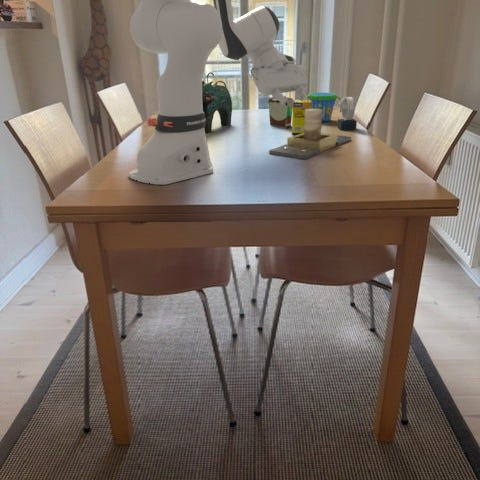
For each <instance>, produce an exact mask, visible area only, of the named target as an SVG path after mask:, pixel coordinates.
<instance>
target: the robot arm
mask: <svg viewBox="0 0 480 480" xmlns="http://www.w3.org/2000/svg"><path fill="white" fill-rule="evenodd" d="M233 13H234V12H233V5H232V0H213V5H212V4H210V3H206V2H203V1H198V0H141V1H140V2H139V4H138V7H137V8H136V10H135V11H134V12H133V13H132V15H131V18H130V21H129V33H130V36H131V39H132V40H133V42H134V44H135V45H136V46H137V47H138V48H140V49H141V50H144V51H147V52H149V53H153V54H159V55H161V54H163V55H164V54H167V62H166V66H165V69H164V71H163V73H162V74H161V75H160V76H159V77H158V79H157V80H156V95H157V104H158V105H157V106H158V114H157V117H156V118H154V117H153V118H152V117H148V118H147V120H146V122H145V123H146V125H147V126H149V127H153V128H154V129H155V130H154V132H153V133H152V134H151V136H150V137H149V138H148V140H147V141H146V142H145V143H144V144H143V145H142V147H140V149H139V150H138V152H137V158H136V166H137V167H136V169H133V170H131V171H129V172H128V177H129V179H131V180H133V179H134V180H133V181H136V180H137V181H136V182H140V183H144V184H149V183H150V184H149V185H169V184H174V183H178V182H181V181H185V180H189V179H193V178H197V177H200V176H206V175H209V174H212V173H214V167H213V164H212V161H211V156H210V151H209V145H208V139H207V136H206V133H205V130H204V127H205V126H206V124H205V121H206V119H205V113H204V112H203V103H202V81H203V77H204V71H205V68H206V65H207V62H208V59H209V57H210V56H211V54H212V52H213V50H214V49H216V47H217V46H218V47H219V49H220V52H221V53H222V54H223V56H224V57H225V58H227V59H230V60H234V61H239V60H241V59H242V58H244V57H246V58H247V59H248V60H250V61H251V63H252V66H253V67H252V68H251V69H250V75H251V76H252V79H253V82H254V84H255V86H256V88H257V90H258V91H259V93H260V94H261V95H263V96H264V97H265V96H272V97H274V98H276V99H277V100H279V101H280V103H281V104H282V105H284V104H286V103H287V102H288V99H287V97H288V96H286V95H285V96H284V95H283V93H291V92H296V93H297V94H298V100H300V101H305V100H308V97H307V96H308V95H306V93H305V87H307V85H308V78H307V76H306V75H305V73H304V72H303V70H302V69H301V67H300V66H299V65H298V64H296V59H295V58H294V57H293V56H291V55H288V54H285V53H283V52H281V51H279V50H278V48H276V46H275V45H274V42H275V41H276V39H277V37H278V34H279V30H280V22H279V21H280V20H279V19H278V17H277V14H276V13H275V12H274V10H272V9H271V8H270V7H267V6H265V5H261V6H259V7H257V8H255V9H253V10H251V11H249V12H247V13H245V14H244V15H242V16H240V17H238V18H236V19H234V14H233Z"/></svg>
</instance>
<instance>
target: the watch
mask: <svg viewBox="0 0 480 480" xmlns="http://www.w3.org/2000/svg"><path fill="white" fill-rule="evenodd" d="M338 106H339V107H340V109H341V116H342V118H338V119H337V129H338V130H340V131H356V130H357V124H358V123H357V122H358V120H356V119H355V118H354V115H355V98H354V97H353V96H345V97H343V98H341V101H340V100H339V102H338Z"/></svg>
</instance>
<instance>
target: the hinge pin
mask: <svg viewBox="0 0 480 480" xmlns="http://www.w3.org/2000/svg"><path fill="white" fill-rule="evenodd" d="M321 120H322V109H305V124H304V139H308V140H316V141H318V140H321V133H322V122H321Z"/></svg>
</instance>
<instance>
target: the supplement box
mask: <svg viewBox="0 0 480 480" xmlns="http://www.w3.org/2000/svg"><path fill="white" fill-rule="evenodd" d="M293 100H294V102H293V109H292V118H291V136H295V135H298V134H301V133H304V124H305V109H311V100H310V99H306V100H305V101H300V99H293Z"/></svg>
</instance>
